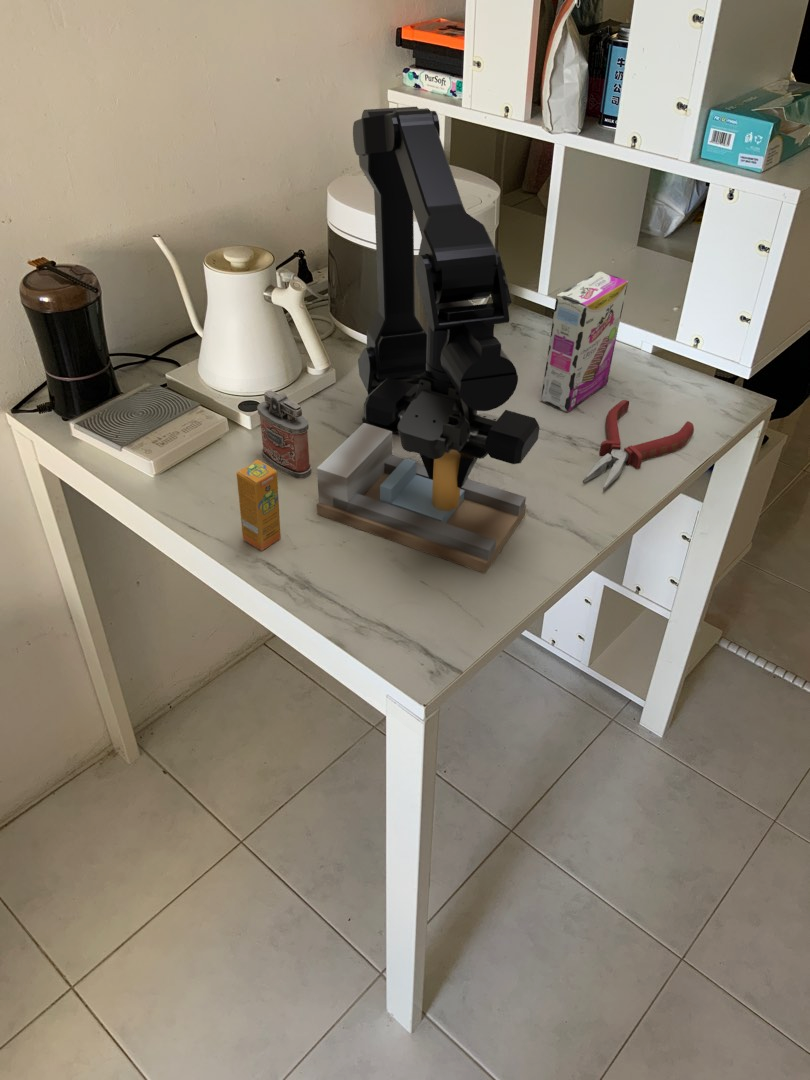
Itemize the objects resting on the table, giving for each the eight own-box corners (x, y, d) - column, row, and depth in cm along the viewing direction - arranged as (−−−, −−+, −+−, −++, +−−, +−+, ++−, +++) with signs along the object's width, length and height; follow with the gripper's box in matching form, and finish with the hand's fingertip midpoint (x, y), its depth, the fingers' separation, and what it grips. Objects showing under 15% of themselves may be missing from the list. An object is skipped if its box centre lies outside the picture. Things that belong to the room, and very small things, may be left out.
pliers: (551, 476, 113) (554, 460, 111) (618, 410, 125) (621, 394, 124) (633, 510, 108) (638, 493, 106) (694, 437, 120) (699, 421, 119)
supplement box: (263, 553, 100) (254, 482, 93) (242, 540, 101) (232, 470, 95) (284, 539, 102) (277, 469, 95) (263, 526, 103) (255, 457, 97)
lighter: (256, 456, 114) (248, 390, 108) (276, 446, 116) (270, 380, 110) (297, 482, 110) (292, 414, 104) (317, 471, 112) (313, 403, 106)
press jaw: (380, 508, 104) (379, 450, 98) (405, 480, 108) (406, 422, 103) (445, 530, 101) (449, 471, 95) (468, 501, 105) (473, 442, 100)
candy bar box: (568, 414, 123) (586, 306, 113) (539, 402, 126) (553, 294, 115) (610, 384, 130) (630, 279, 119) (581, 373, 132) (598, 268, 122)
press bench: (317, 514, 105) (314, 470, 101) (366, 463, 113) (365, 420, 109) (485, 573, 98) (489, 528, 94) (524, 514, 106) (530, 470, 102)
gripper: (335, 372, 88) (340, 495, 98) (507, 421, 82) (493, 547, 92) (388, 327, 96) (388, 446, 106) (548, 369, 89) (532, 490, 100)
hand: (446, 481), depth 101 cm, fingers closed on press jaw, 3 cm apart
